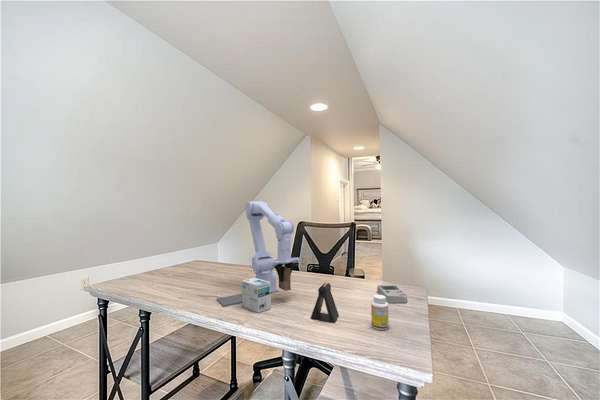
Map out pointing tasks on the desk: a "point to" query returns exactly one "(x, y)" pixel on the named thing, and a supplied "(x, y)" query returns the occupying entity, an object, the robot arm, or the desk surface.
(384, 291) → the handheld gaming device
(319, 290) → the black triangular stand
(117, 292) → the desk surface
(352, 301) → the desk surface
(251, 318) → the desk surface
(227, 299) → the rubber mat
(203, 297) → the desk surface
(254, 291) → the light bulb box
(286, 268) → the brown rectangular block
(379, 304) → the supplement bottle
